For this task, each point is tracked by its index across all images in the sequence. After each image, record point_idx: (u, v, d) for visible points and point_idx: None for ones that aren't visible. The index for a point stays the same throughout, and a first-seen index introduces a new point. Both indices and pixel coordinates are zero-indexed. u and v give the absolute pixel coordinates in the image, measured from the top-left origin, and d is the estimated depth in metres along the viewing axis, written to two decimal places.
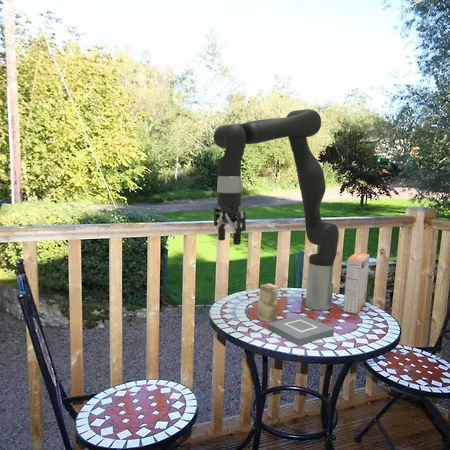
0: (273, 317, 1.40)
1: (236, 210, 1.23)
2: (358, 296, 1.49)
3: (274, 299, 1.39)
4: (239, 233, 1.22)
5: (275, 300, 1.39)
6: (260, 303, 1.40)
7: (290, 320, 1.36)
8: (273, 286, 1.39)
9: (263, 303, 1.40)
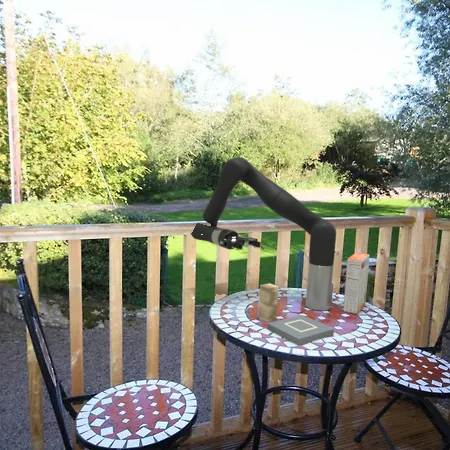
0: (273, 317, 1.40)
1: None
2: (358, 296, 1.49)
3: (274, 299, 1.39)
4: (233, 244, 1.47)
5: (275, 300, 1.39)
6: (261, 303, 1.40)
7: (290, 320, 1.36)
8: (273, 286, 1.39)
9: (263, 303, 1.40)
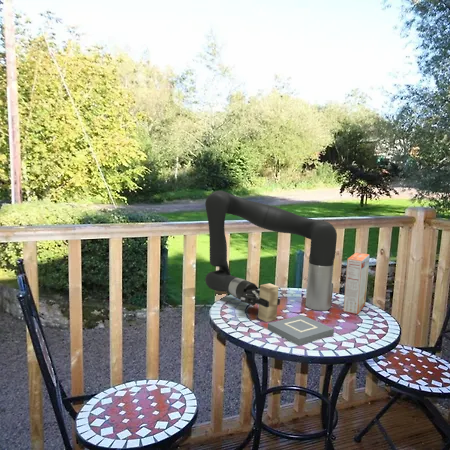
0: (273, 317, 1.40)
1: (244, 295, 1.45)
2: (358, 296, 1.49)
3: (274, 299, 1.39)
4: (258, 301, 1.39)
5: (275, 300, 1.39)
6: None
7: (290, 320, 1.36)
8: (273, 286, 1.39)
9: None
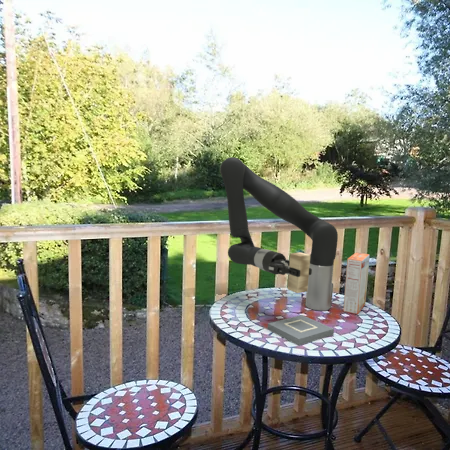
0: (304, 288, 1.30)
1: None
2: (358, 296, 1.49)
3: (305, 268, 1.28)
4: (289, 270, 1.29)
5: (307, 270, 1.29)
6: None
7: (290, 320, 1.36)
8: (304, 254, 1.29)
9: None
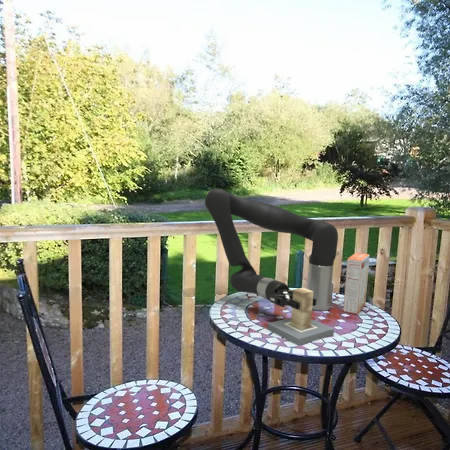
0: (307, 324, 1.30)
1: None
2: (358, 296, 1.49)
3: (308, 305, 1.29)
4: (288, 303, 1.28)
5: (310, 306, 1.29)
6: (294, 309, 1.30)
7: (290, 320, 1.36)
8: (308, 291, 1.29)
9: (296, 309, 1.29)
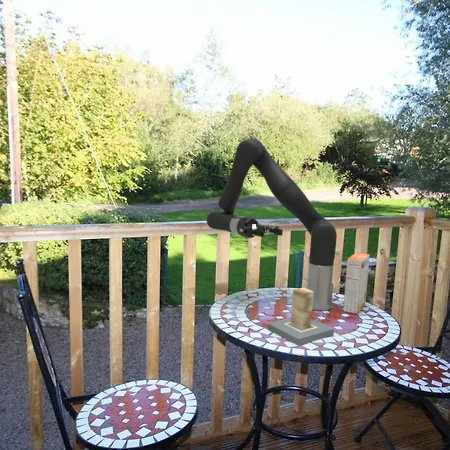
0: (307, 324, 1.30)
1: None
2: (358, 296, 1.49)
3: (308, 305, 1.29)
4: (254, 232, 1.40)
5: (310, 306, 1.29)
6: (294, 309, 1.30)
7: (290, 320, 1.36)
8: (308, 291, 1.29)
9: (296, 309, 1.29)
